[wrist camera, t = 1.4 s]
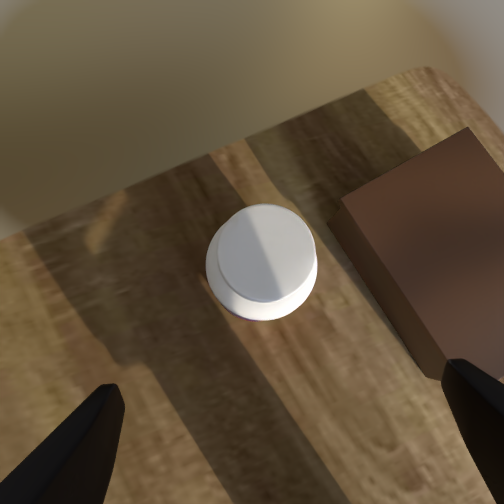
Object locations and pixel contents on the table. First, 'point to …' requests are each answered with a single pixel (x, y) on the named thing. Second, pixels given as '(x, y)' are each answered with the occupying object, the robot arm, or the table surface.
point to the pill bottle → (262, 263)
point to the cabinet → (434, 252)
